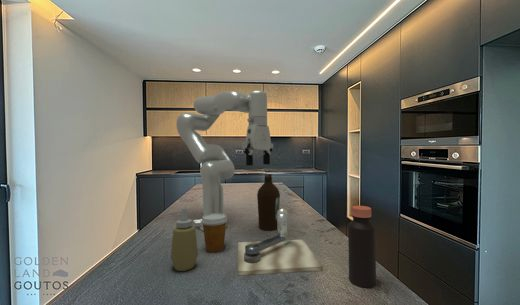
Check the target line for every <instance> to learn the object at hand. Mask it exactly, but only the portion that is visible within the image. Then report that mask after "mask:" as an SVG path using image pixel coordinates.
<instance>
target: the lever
mask: <svg viewBox="0 0 520 305" xmlns="http://www.w3.org/2000/svg"><path fill="white" fill-rule="evenodd" d="M276 230H277V233H276V234H277V235H275V236H273V237H270V238H267V239H264V240H262V242H259V243H257V244H248V245H246V246H245V254H246V255H248V256H255V255H258V254H259V251H262V250H264V249H266V248H269V247H271V246H273V245H276V244H278V243H280V242H283V241H285V240H286V237H288V211H287V209H286V208H284V207H282V208H280V207H279V210H278V211H277V229H276Z"/></svg>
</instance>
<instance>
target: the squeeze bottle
mask: <svg viewBox="0 0 520 305" xmlns="http://www.w3.org/2000/svg"><path fill="white" fill-rule="evenodd" d="M175 225H176V227H175V228H174V229H173V230H172V240H171V249H170V250H171V252H170V259H171V262H172V265H173V268H174V270H176V271H179V272H184V271H189V270H191V269H193V268H194V267H195V265H196V263H197V259H198V255H199V252H198V250H199V249H198V243H197V232H196V226H193V220H192V219H191V218H189V215H188V211H187V208H182V209H181V212H180V217H179V219H178V220H176V224H175Z"/></svg>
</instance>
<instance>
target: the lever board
mask: <svg viewBox="0 0 520 305" xmlns="http://www.w3.org/2000/svg"><path fill="white" fill-rule="evenodd" d="M262 241H263V240H262ZM262 241H241V242H239V241H238V242H237V276H247V275H249V276H250V275H251V276H252V275H268V274H283V273H300V272H301V273H302V272H316V271H317V272H320V271H323V270H324V269H323V265H322V264H321V262H320V261H319V259H318V258H317V257H316V256H315V254H314V253H313V251H312V250H311V249H310V247H309V246H308V244H307V243H306V242H305V240H304V239H285V241H283V242H280V243H278V244H276V245H273V246H271V247H269V248H266V249H264V250H262V251H259V254H258V255H255V256H248V255H246V254H245V246H246V245H248V244H257V243H259V242H262Z"/></svg>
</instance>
